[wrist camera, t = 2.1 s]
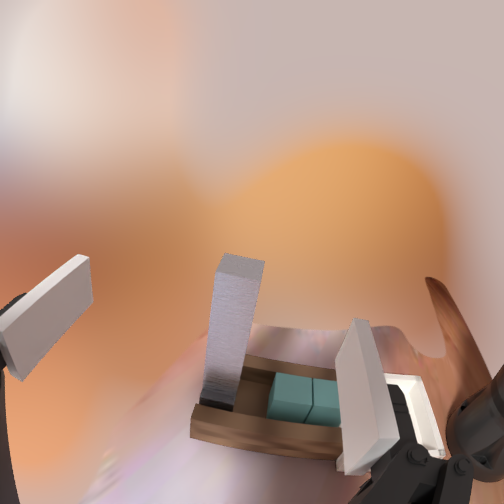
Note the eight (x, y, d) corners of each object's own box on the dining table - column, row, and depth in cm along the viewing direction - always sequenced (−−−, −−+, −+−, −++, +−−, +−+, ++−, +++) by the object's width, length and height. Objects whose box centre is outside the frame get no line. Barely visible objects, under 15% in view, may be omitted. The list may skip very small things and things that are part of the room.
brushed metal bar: (238, 382, 35) (266, 255, 28) (230, 420, 30) (259, 288, 22) (210, 376, 35) (227, 247, 28) (198, 412, 30) (212, 278, 23)
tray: (410, 389, 38) (420, 376, 37) (432, 467, 25) (445, 455, 24) (330, 382, 39) (338, 367, 37) (336, 471, 26) (347, 459, 25)
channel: (331, 390, 37) (341, 370, 36) (335, 460, 27) (349, 443, 26) (211, 369, 38) (214, 347, 36) (189, 437, 28) (190, 418, 26)
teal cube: (335, 403, 33) (346, 382, 32) (336, 429, 30) (350, 409, 28) (303, 399, 34) (313, 378, 32) (303, 425, 30) (314, 405, 28)
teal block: (301, 399, 34) (311, 377, 32) (301, 425, 30) (312, 405, 28) (269, 394, 34) (276, 372, 32) (265, 420, 30) (273, 399, 28)
